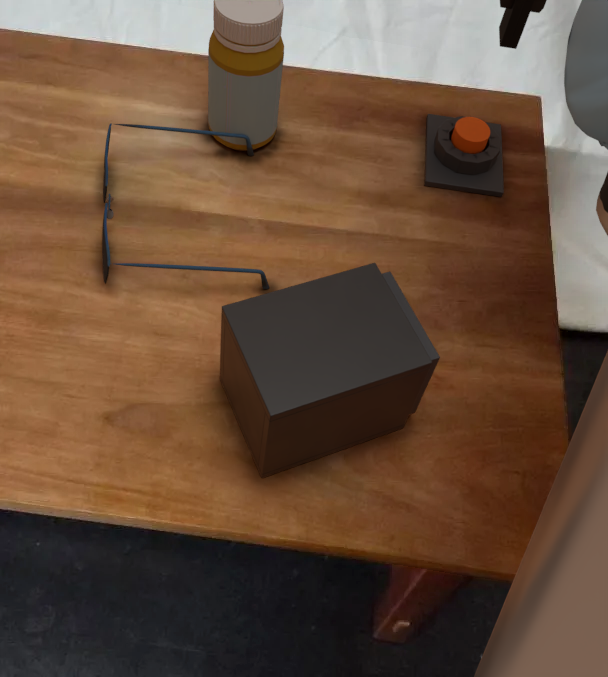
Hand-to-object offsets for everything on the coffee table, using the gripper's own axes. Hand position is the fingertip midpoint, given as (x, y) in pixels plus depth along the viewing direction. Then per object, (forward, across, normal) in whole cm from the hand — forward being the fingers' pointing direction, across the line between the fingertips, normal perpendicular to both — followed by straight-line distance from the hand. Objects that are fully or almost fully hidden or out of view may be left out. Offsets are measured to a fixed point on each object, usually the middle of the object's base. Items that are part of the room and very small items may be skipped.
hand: (507, 37), depth 74 cm
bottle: (+15, +23, +1) cm, 28 cm away
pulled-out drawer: (+13, +11, +31) cm, 35 cm away
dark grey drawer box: (+14, +13, +32) cm, 37 cm away
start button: (+13, 0, 0) cm, 13 cm away
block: (+15, 0, 0) cm, 15 cm away
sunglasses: (+15, +27, +14) cm, 34 cm away
